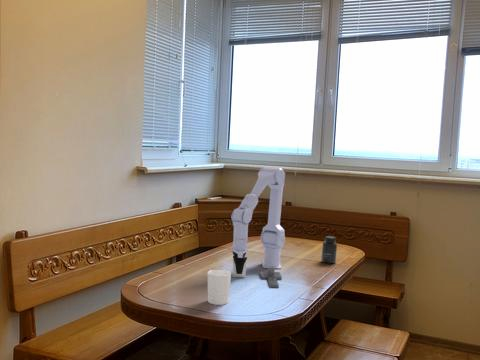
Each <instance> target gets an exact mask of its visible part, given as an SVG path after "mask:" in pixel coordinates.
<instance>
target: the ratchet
mask: <svg viewBox="0 0 480 360" xmlns="http://www.w3.org/2000/svg"><path fill="white" fill-rule="evenodd" d="M266 269H267V270H266V271H261V270H260V273H259V275H260V279H261V280H267V282H268V284H269V287H270V288H279V287H280V286H279V285H280V284H279V282H278V281H282V280H283V279H282V275H281V273H280V271H275V269H276V268H275V267H274V266H268V268H266Z"/></svg>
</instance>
